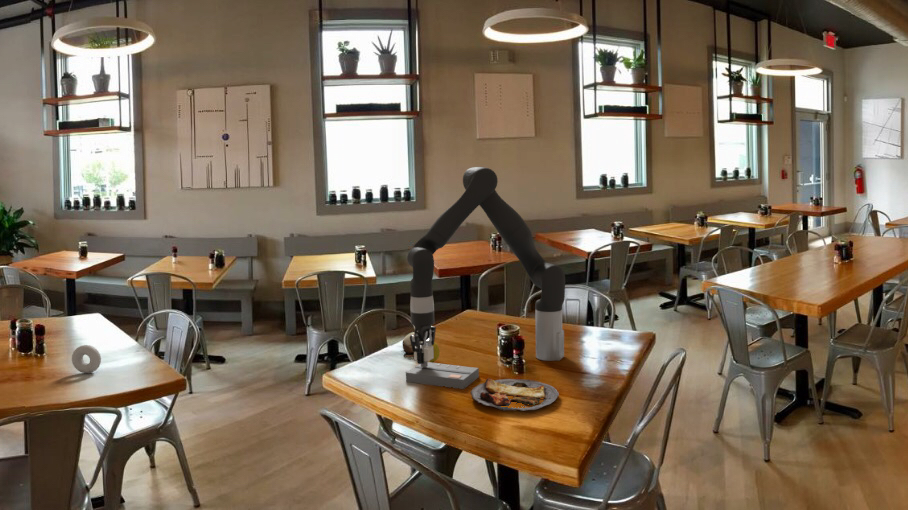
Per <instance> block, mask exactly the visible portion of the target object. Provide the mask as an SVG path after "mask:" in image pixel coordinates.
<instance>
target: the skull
mask: <svg viewBox="0 0 908 510" xmlns="http://www.w3.org/2000/svg"><path fill="white" fill-rule="evenodd" d="M414 334H415V333H414V332H413V331H412V332H410V333H408V334H406V336H404V338H403V339H402V349H403V350H402V351H401V353H402V352H403V353H404V356H405V357H408V358H414V352H413V350H412V346H411V341H410V335H414ZM419 342H420V343H422V342H421V341H419ZM415 347H416V346H415Z"/></svg>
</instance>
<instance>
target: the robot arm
mask: <svg viewBox="0 0 908 510" xmlns="http://www.w3.org/2000/svg"><path fill="white" fill-rule="evenodd" d="M498 180H499V179H498V175H497V174H496V172H495V171H494V170H493V169H491V168H490V167H489V168H488V167H484V166H483V167H482V166H474V167H470V168H468V169H466V170H465V171H464V173H463V176H462V185H463V187H464V189H465V191H464V192H463V193H462V195H461V196H460V197H459V198H458V199H457V201H455V202H454V203H453V204H452V205H451V206H450V207H448V208H447V209H446V210H445V211H444V212H443V213H442V214H441V215H440V216H439V217H438V218H436V220H435V221H434V222H433V224H432V225H431V226H430V228H429V229H428V230H427V232H426V233H425V234H424V235H423V236H422V237H421V238H419V240H418V241H417V242H415V244H414V245H413V246H412V247H411V248H410V249H409V251H408V253H407V257H406V258H407V259H406V260H407V263H408V265H410V266H411V268H412V278H411V280H410V288H409V289H410V303H409V305H410V307H409V308H410V323H411V326H413V327H414V333H415V334H414V335H410V341H411V346H412V350H413V352H417V360H416V363H417V365H419V364H423V363H424V346H425V345H428V346H432V345H434V342H435V340H436V329H437V328H436V326H432V325H434V324H435V304H434V303H435V302H434V295H433V294H434V293H433V292H434V291H433V277H434V271H435V259H434V254H435V253H436V252H437V250H439V249H442V248H444V246H446V244H447V243H448V242H449V240H451V238H452V237H453V235H454V234H455V233H456V232H457V230H458V228H460V227H461V225H462V224H463V223H464V222H465V221H466V219H467V218H469V216H470V215H471V214H472V213H473V212H474V211H475V210H476V209H477V208H478V207H479V206H480V208H481V209H482V211H483V212H484V213H485V214H486V216H487V217H488V219H489V221H490V222H491V223H492V225H493V227H494V228H495V229H496V231H497V233H498V234H499V235H500V237H501V238H502V240H503V241H504V243H505V244H506V245H507V246H508V247H509V249H510V250H511V252H512V253H513V254H514V255H515V257H516V258H517V259H518V261H519V262H520V263H521V265H522V267H523V269H524V271H525V272H526V274H527V275H528V277H529V279H530V280H531V282H532V283H533V285H534V286H536V287H537V288H539V289H540V290H541V294H540V296H541V297H540V299H537V300H536V301H535V308H534V309H535V317H534V318H535V358H537V360H541V361H546V362H547V361H548V362H550V361H558V362H559V361H560V360H562V359H563V358H564V357H565V330H564V329H563V304H564V301H565V298H566V297H565V295H566V294H565V292H566V275H565V272H564V269H563V268H562V267H561V266H559V265H557V264H553V263H550V262H547V261H546V260H545V259H544V257H543V256H542V255H541V254H540V252H539V251H538V250H537V248H536V246H535V241H534V237H533V234H532V231H531V229H530V227H529V226H528V225H527V223H526V222H525V220H524V219H523V218H522V216H521V215H520V214H519V212H517V210H515V209H514V208H513V207H512V206H511V205H510V204H508V203H507V202H506V201H505V200H504V199H503V198H502V197H501V196H500V195H499V194H498V192H497V191H496V188H497V186H498V182H499V181H498ZM419 341H421V342H422V343H420V342H419ZM420 345H421V347H420ZM415 346H416V348H415Z"/></svg>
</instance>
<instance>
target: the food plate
mask: <svg viewBox="0 0 908 510" xmlns="http://www.w3.org/2000/svg"><path fill="white" fill-rule="evenodd" d="M471 389H472V390H470V393H469V394H470V395H471V398H472V400H473V401H475V402H476V403H477V404H480V403H481V405H483V406H489V407H494V408H495V409H499V410H501V411H503V412H505V411H517V410H518V411H535V410H539V409H541V408H543V407H545V406H548V405H551V404H552V403H553V402H555V401H556V400H557V399H558V397H559V396H560V393H559V391H558V390H557V389H556V388H555V387H554V386H552V385H550V384H547V383H543V382H541V381H538V380H534V379H524V378H522V379H519V378H516V379H515V378H513V379H512V378H503V379H501V378H500V379H496V380H494V379H493V378H491V377H490V378H486V380H485V381H484V382H483V383H479V384H478V385H476V386H475V387H473V388H471ZM507 396H513V397H514V398H513V399H510V400H509V399H508V397H507ZM540 398H544V399H543V400H544V401H543V400H542V401H543V402H541V403H540V400H541V399H540ZM511 402H517V403H522V404H529V405H528V406H530V405H534V406H530V407H525V408H523V407H522V408H519V407H518V408H516V407H515V408H513V407H511V408H508V407H501V406H509V405H510V404H511ZM517 403H516V404H517ZM538 403H539V404H538ZM535 404H538V405H535Z"/></svg>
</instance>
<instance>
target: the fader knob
mask: <svg viewBox="0 0 908 510" xmlns="http://www.w3.org/2000/svg"><path fill="white" fill-rule="evenodd" d="M420 347H421V345H420ZM415 348H416V347H415ZM433 358H434V351H433V346H428V345H425V346H424V363H423V364H421V367H427V366H428V362H429V361H430V360H431V359H433ZM413 360H414V361H417V352H414V357H413Z"/></svg>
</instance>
